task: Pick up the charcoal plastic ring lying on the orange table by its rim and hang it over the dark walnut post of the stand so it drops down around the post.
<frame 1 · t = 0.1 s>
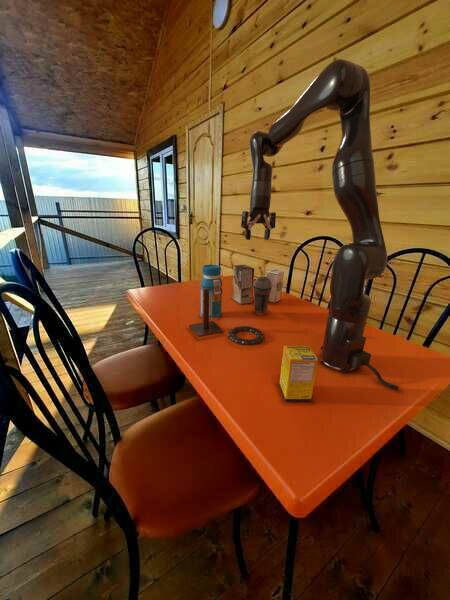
hand: (257, 239, 100), 29 cm above the table, tool pointing down, fingers open, 8 cm apart
ring: (246, 336, 82), point 1 cm above the table
beverage bottle: (210, 316, 100), on the table
beverage cup: (260, 314, 105), on the table
coffee box: (241, 300, 119), on the table
stand: (205, 331, 87), on the table
supplement box: (294, 393, 59), on the table
syrup box: (272, 300, 121), on the table
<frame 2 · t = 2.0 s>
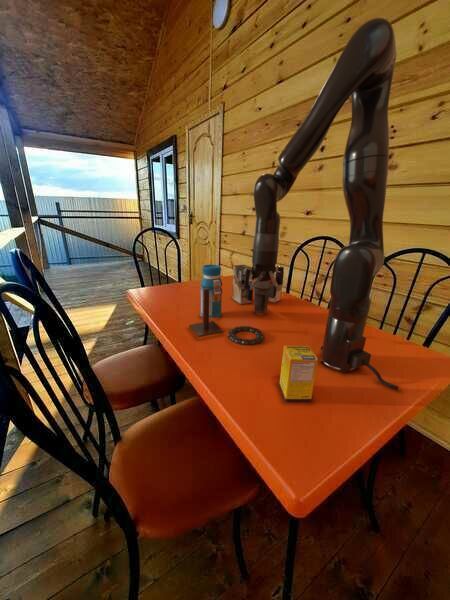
hand: (260, 299, 82), 13 cm above the table, tool pointing down, fingers open, 8 cm apart
nothing on the table moved.
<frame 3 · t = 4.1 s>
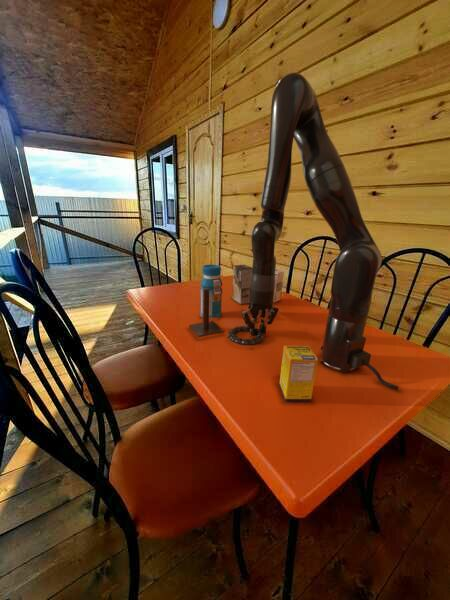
hand: (257, 336, 85), 0 cm above the table, tool pointing down, fingers closed on ring, 2 cm apart
ring: (246, 336, 82), point 1 cm above the table, touching gripper
everything else where it was.
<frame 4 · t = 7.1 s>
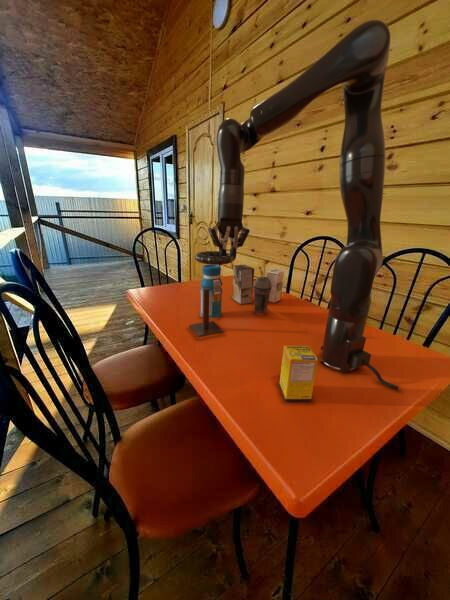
hand: (227, 260, 80), 25 cm above the table, tool pointing down, fingers closed on ring, 2 cm apart
ring: (214, 257, 78), point 26 cm above the table, touching gripper
everything else where it was.
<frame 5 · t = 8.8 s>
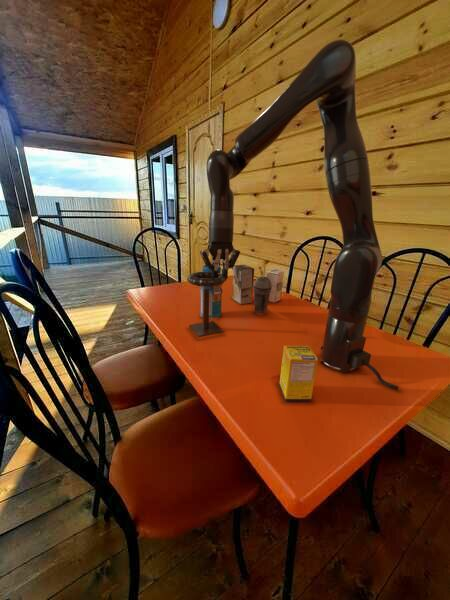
hand: (219, 280, 83), 18 cm above the table, tool pointing down, fingers closed on ring, 2 cm apart
ring: (206, 278, 81), point 19 cm above the table, touching gripper
everything else where it was.
when the fingers open (14 cm above the table, at t = 10.1 s): ring drops 12 cm, resting on stand.
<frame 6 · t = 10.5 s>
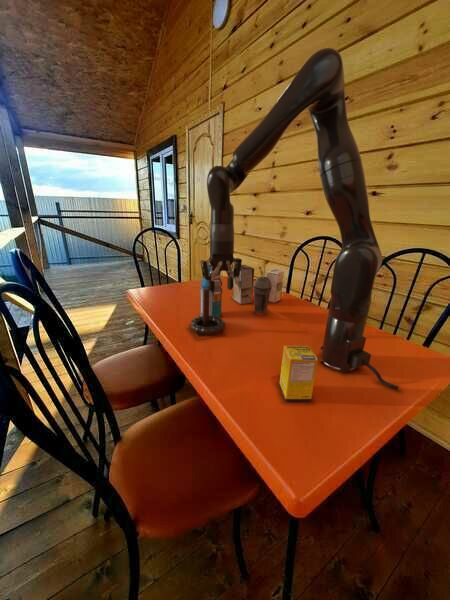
hand: (221, 290, 85), 14 cm above the table, tool pointing down, fingers open, 5 cm apart
ring: (207, 324, 86), point 3 cm above the table, touching stand
everything else where it was.
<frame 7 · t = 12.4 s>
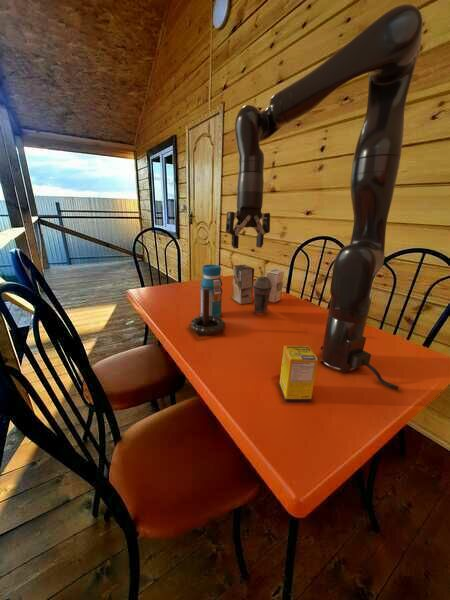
hand: (247, 247, 79), 29 cm above the table, tool pointing down, fingers open, 8 cm apart
nothing on the table moved.
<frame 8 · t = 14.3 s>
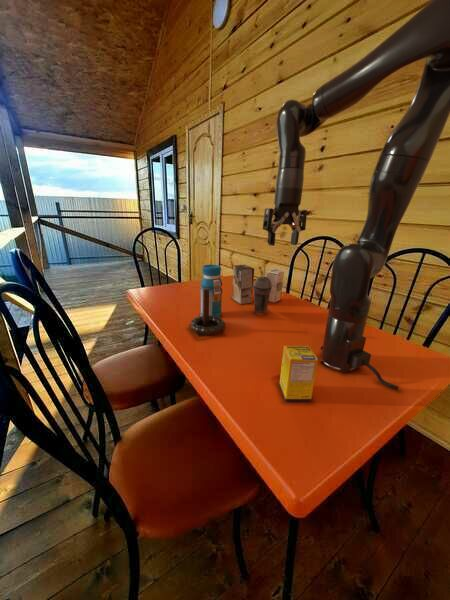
hand: (282, 245, 78), 30 cm above the table, tool pointing down, fingers open, 8 cm apart
nothing on the table moved.
at the end: ring 0.7 cm from the stand (horizontally); the gripper is holding nothing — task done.
